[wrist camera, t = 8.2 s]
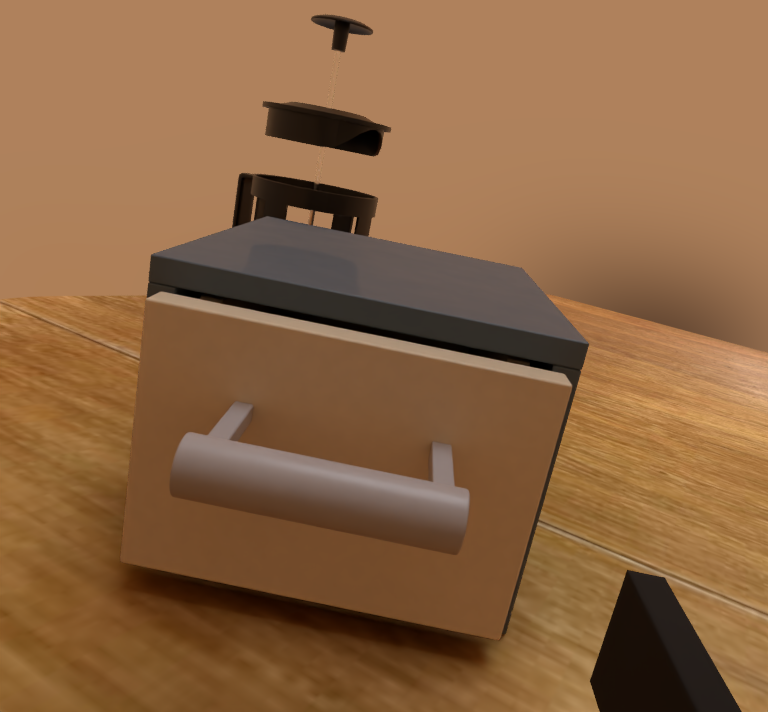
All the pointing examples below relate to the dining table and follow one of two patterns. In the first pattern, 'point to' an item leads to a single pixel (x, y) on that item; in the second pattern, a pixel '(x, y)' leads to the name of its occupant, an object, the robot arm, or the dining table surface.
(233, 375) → the drawer
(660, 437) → the dining table surface
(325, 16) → the french press
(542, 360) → the cabinet
